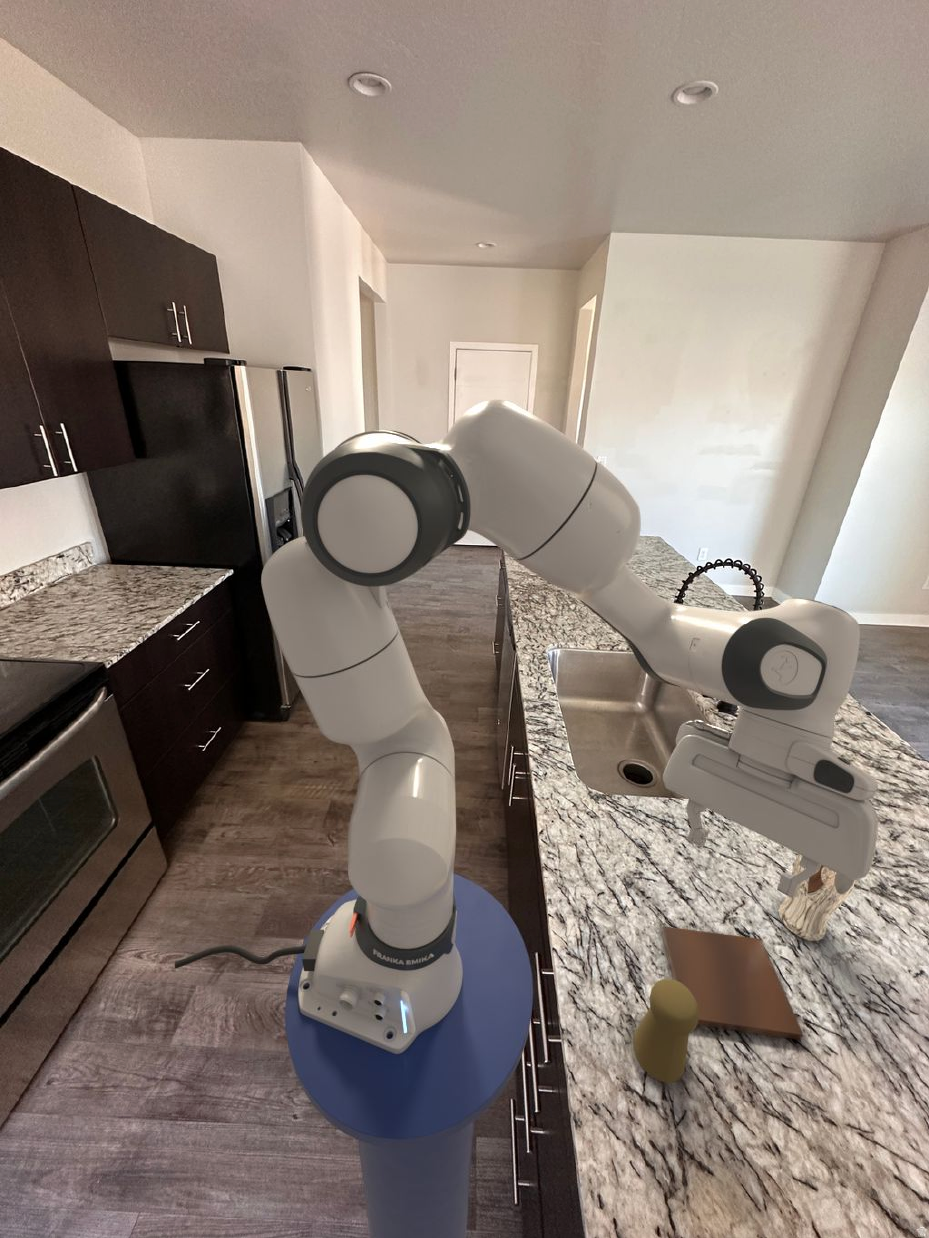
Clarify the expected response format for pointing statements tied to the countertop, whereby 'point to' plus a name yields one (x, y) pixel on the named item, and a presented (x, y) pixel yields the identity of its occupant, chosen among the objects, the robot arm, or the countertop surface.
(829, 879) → the beer glass
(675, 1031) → the pepper mill
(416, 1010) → the robot arm
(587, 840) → the countertop surface
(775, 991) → the cutting board
